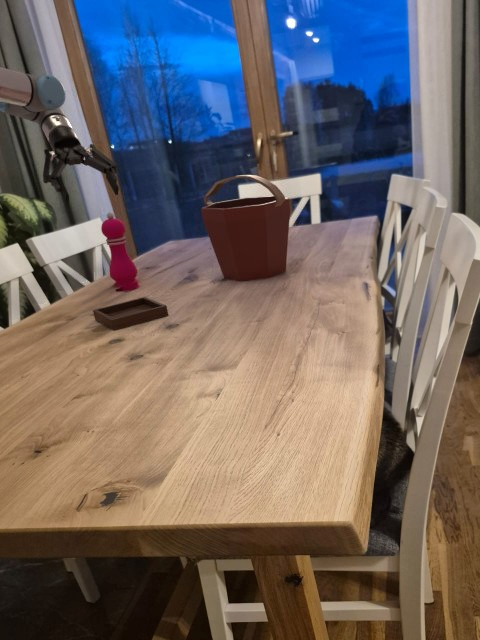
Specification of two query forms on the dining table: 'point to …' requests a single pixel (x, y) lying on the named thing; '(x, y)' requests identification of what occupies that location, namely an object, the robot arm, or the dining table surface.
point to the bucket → (249, 232)
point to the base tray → (130, 313)
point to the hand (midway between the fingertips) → (92, 195)
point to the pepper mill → (119, 255)
